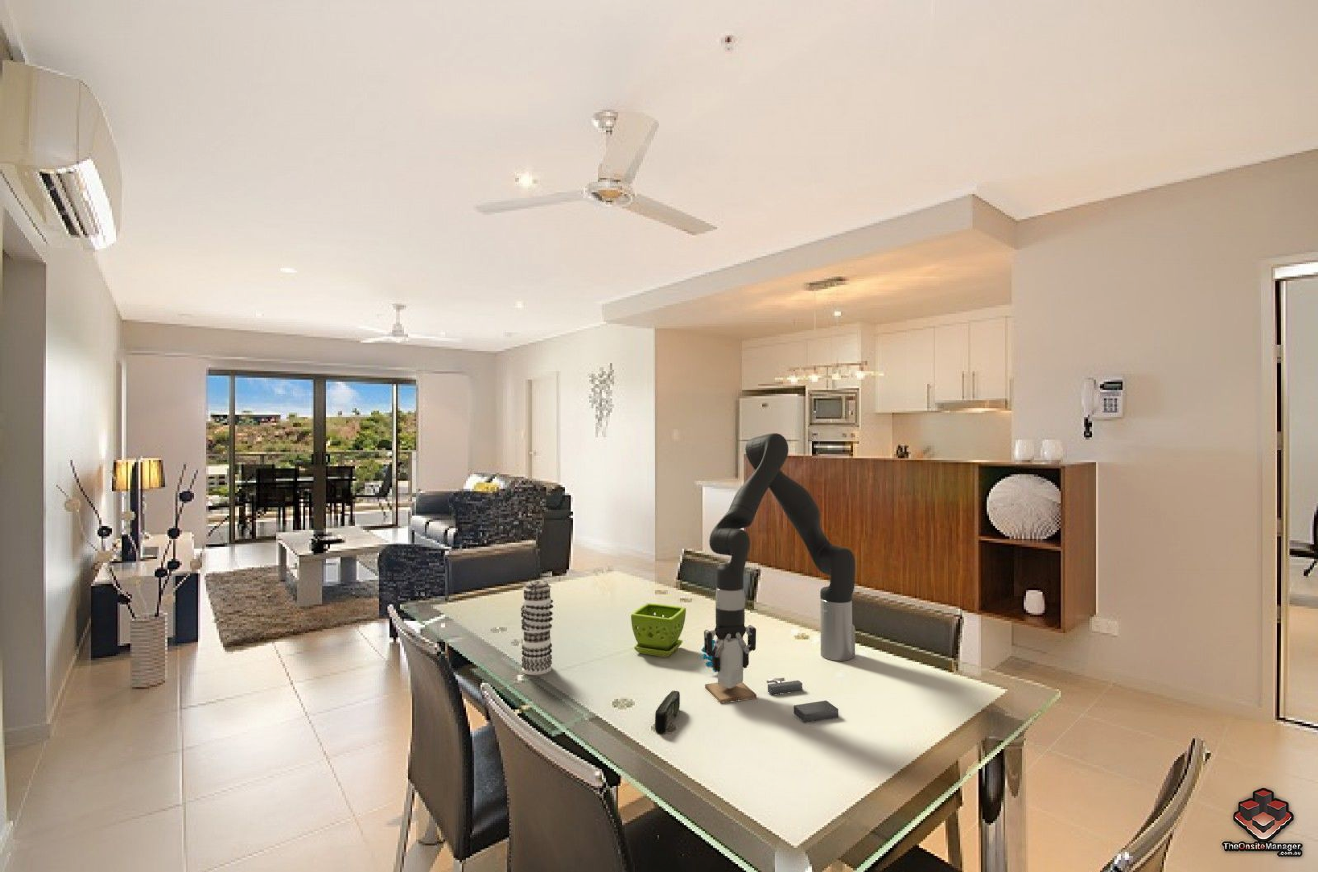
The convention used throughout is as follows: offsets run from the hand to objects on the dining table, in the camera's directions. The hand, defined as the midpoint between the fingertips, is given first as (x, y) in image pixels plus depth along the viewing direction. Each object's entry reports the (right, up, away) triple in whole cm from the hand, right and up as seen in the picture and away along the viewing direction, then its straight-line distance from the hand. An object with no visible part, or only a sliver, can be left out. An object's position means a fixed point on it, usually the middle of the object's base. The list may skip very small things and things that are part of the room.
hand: (730, 668), depth 154 cm
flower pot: (-19, -7, +32) cm, 37 cm away
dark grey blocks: (+16, -6, -5) cm, 18 cm away
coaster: (0, -6, 0) cm, 6 cm away
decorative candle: (-54, -7, +17) cm, 56 cm away
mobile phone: (-16, -6, -15) cm, 23 cm away
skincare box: (0, -4, 0) cm, 4 cm away
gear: (-1, -7, +17) cm, 18 cm away
